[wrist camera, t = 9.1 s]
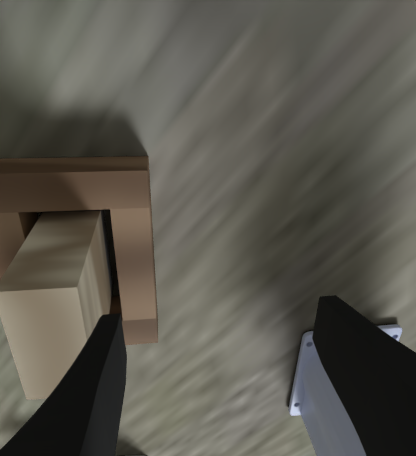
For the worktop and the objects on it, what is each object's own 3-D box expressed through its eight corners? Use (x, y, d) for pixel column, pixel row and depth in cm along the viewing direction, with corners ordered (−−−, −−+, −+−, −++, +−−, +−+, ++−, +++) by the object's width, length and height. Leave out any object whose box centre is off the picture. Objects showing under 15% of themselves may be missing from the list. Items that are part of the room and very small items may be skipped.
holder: (157, 316, 25) (157, 342, 23) (29, 325, 24) (18, 353, 22) (148, 155, 20) (147, 170, 18) (-17, 159, 19) (-39, 174, 17)
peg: (103, 201, 21) (77, 287, 14) (113, 286, 23) (96, 393, 16) (48, 203, 20) (-8, 292, 13) (65, 289, 23) (26, 400, 16)
